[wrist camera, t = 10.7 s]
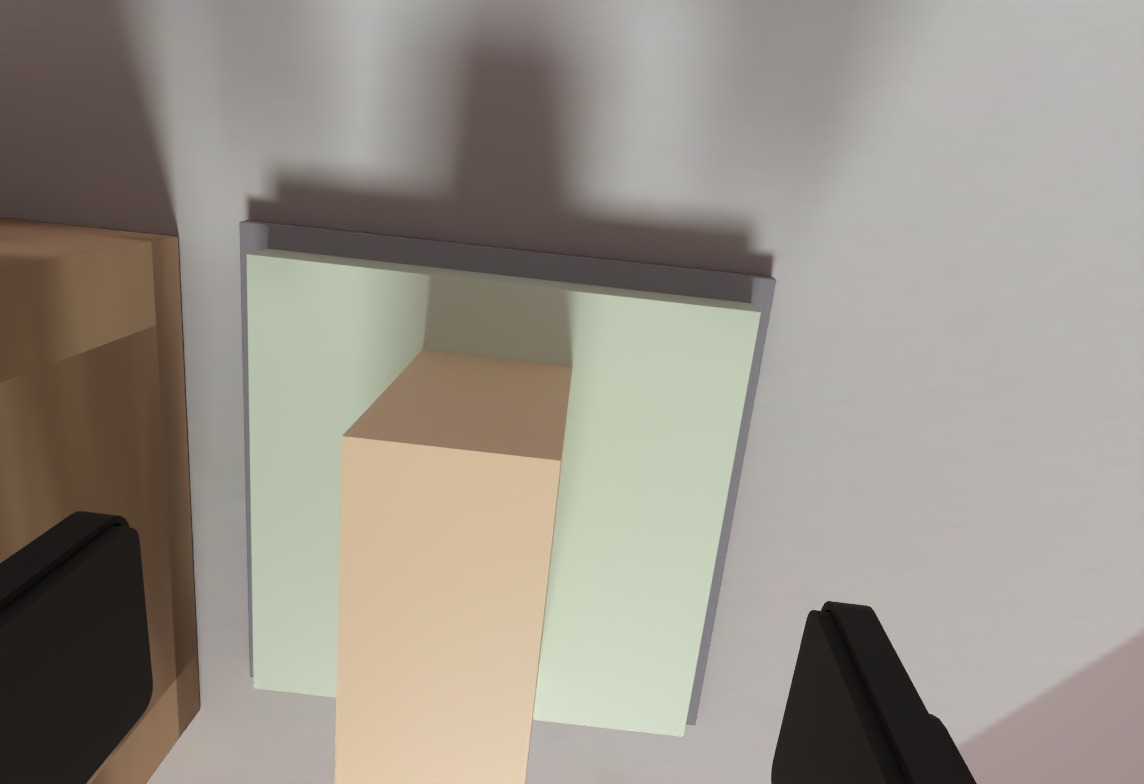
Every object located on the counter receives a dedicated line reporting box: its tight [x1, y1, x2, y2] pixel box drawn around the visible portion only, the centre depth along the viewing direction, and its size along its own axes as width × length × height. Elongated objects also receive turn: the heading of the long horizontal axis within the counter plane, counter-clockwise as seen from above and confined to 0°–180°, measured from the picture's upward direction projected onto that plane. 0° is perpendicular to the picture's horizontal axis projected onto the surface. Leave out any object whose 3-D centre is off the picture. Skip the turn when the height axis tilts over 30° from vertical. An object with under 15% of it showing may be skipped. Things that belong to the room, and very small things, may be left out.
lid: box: [247, 249, 761, 784], centre depth 14 cm, size 10×10×6 cm
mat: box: [240, 220, 776, 725], centre depth 17 cm, size 11×11×1 cm
